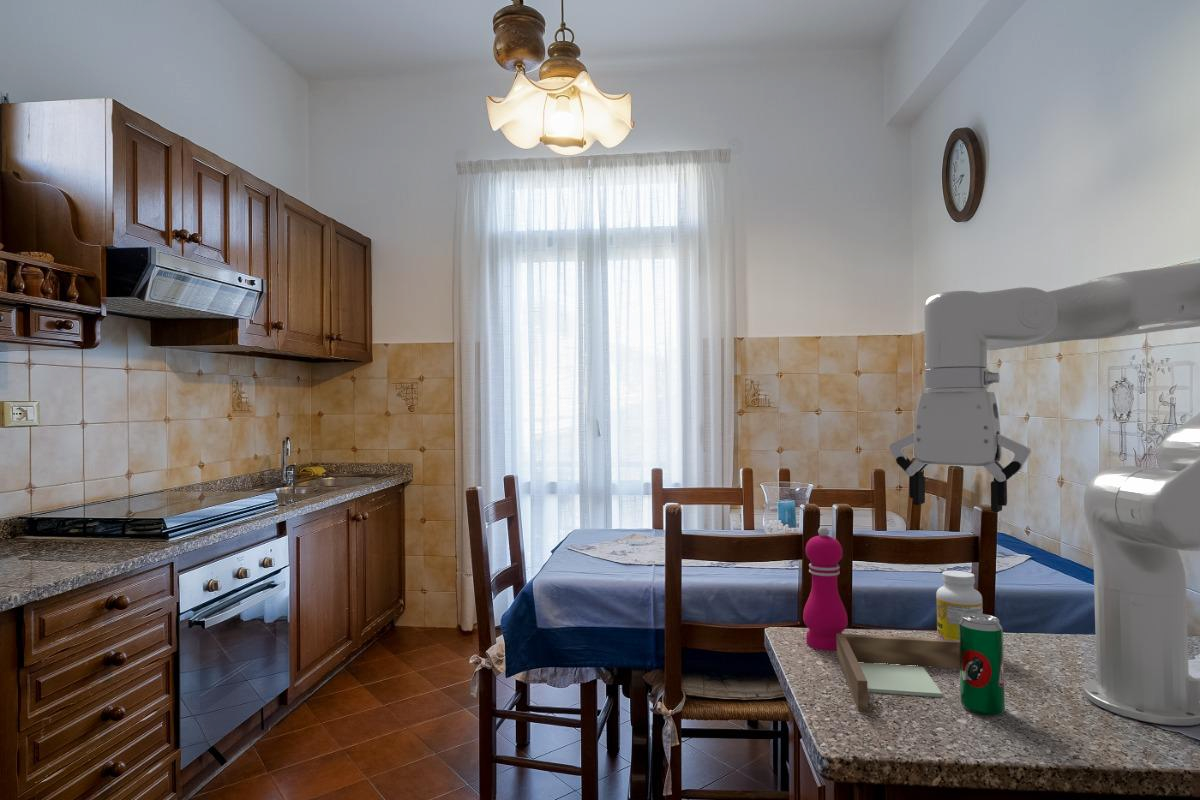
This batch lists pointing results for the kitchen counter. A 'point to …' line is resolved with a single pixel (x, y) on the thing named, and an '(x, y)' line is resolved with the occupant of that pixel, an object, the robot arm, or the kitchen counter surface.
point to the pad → (899, 680)
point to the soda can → (981, 664)
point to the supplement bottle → (955, 602)
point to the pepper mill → (824, 593)
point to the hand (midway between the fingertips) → (956, 507)
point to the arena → (889, 657)
